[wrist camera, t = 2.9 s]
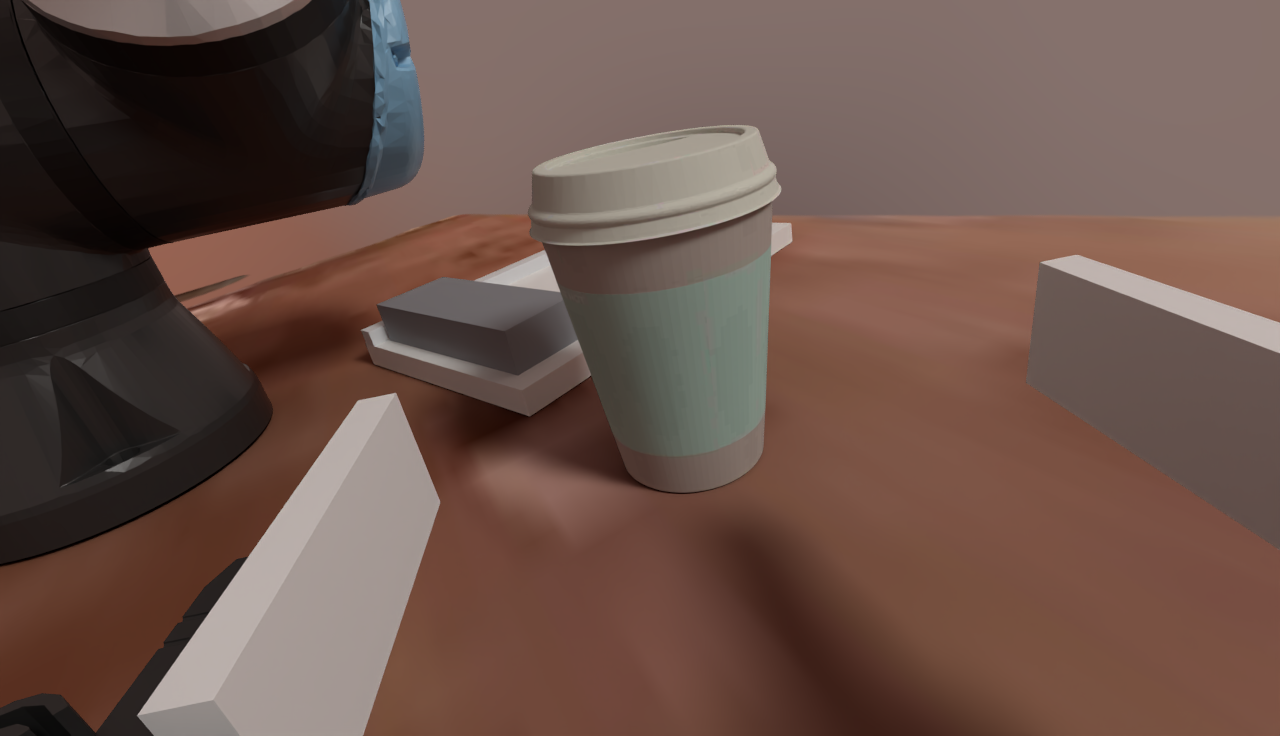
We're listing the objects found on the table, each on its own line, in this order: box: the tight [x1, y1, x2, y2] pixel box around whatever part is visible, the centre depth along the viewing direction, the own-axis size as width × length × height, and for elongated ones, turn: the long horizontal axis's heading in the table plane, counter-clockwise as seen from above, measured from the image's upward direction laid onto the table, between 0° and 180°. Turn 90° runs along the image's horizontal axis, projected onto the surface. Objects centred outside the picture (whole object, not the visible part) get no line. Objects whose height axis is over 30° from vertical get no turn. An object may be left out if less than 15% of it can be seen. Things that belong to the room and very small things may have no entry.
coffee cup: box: [528, 125, 781, 493], centre depth 22 cm, size 8×8×12 cm
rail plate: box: [361, 223, 792, 416], centre depth 43 cm, size 28×16×4 cm, turn 141°
